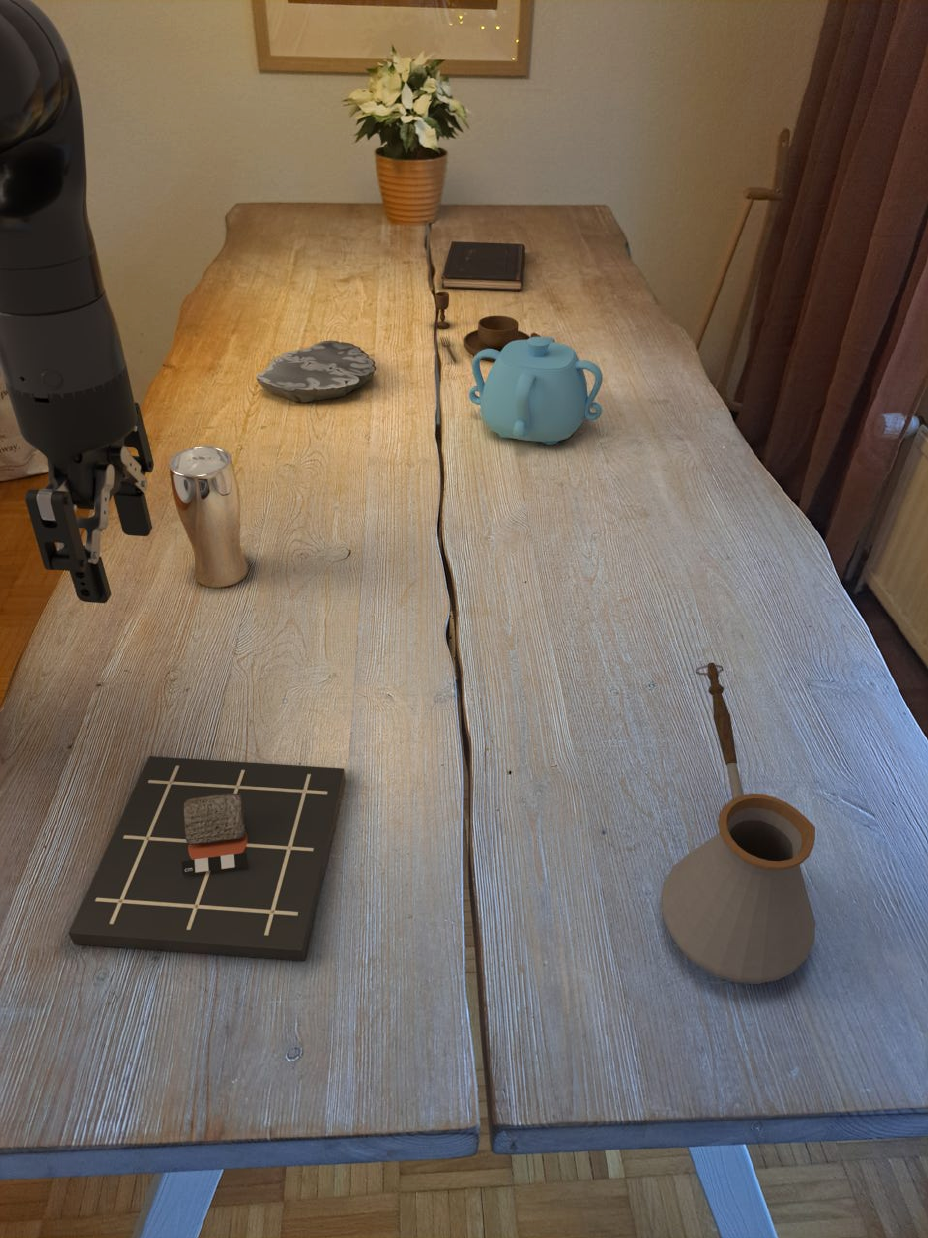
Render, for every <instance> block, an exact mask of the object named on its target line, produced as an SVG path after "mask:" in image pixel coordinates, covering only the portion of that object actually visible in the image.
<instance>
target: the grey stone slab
mask: <svg viewBox="0 0 928 1238" xmlns="http://www.w3.org/2000/svg"><path fill="white" fill-rule="evenodd" d="M375 365H376V361H375V359H373V358H371V357H370V356H369V354H368V353H367V352H365V350H362V349H361V347H360V346H357V345H354V344H352V343H350V342H349V343H348V342H344V341H342V342H340V341H338V340H324V341H319V342H318V343H315V344H313V345H311V346H308V347H307V348H306V347H305V348H301V349H295V350H291V351H288V352H287V351H286V352H284V353H282V354H280V355H278V356H276V357H274V358H272V359H270V363H269V364H268V365H267V367H266V368H265V369H263V370H261V371H260V372H259V373H258V374H256V376H255V378H256V381H257V383H258V384H259V385H260V386H261V387H262V388H263V389H264V390H266V391H267V392H268V393H271V394H274V395H276V396H278V397H285V398H286V399H289V400H291V401H292V402H294V403H311V402H313V401H314V402H315V401H323V400H328V399H329V400H330V399H337V398H341V397H344V396H346V395H347V394H349V393H351V392H352V391H353V390H357V389H359V388H360V387H362V386H363V385H364V384H366V383H367V382H368V381H369V380H371V378H372V377H373V375H374V373H375V372H376V371H377V366H375Z"/></svg>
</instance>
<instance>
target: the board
mask: <svg viewBox="0 0 928 1238" xmlns="http://www.w3.org/2000/svg"><path fill="white" fill-rule="evenodd" d="M345 784H346V770H345V768H343V767H327V766H315V765H314V766H311V765H298V764H297V765H295V764H281V763H279V764H278V763H264V762H251V761H250V762H249V761H233V760H218V759H201V758H186V757H169V756H156V755H155V756H154V755H148V758H147V759H146V762H145V764H144V766H143V769H142V771H141V773H140V775H139V777H138V779H137V781H136V784H135V785H134V788H133V790H132V793H131V795H130V796H129V799H128V801H127V804H126V805H125V808H124V810H123V812H122V814H121V817H120V819H119V821H118V823H117V825H116V827H115V830H114V832H113V834H112V836H111V839H110V841H109V843H108V845H107V847H106V849H105V851H104V854H103V856H102V858H101V860H100V862H99V864H98V867H97V869H96V871H95V874H94V876H93V877H92V881H91V883H90V885H89V887H88V889H87V891H86V893H85V895H84V897H83V900H82V902H81V904H80V907H79V909H78V910H77V912H76V915H75V917H74V919H73V922H72V924H71V926H70V929H69V931H68V932H67V933H68V936H69V938H70V940H71V942H72V944H73V945H86V946H100V947H114V948H126V949H138V950H139V949H141V950H154V951H165V952H181V953H192V954H193V953H194V954H207V955H221V956H234V957H247V958H260V959H261V958H262V959H272V960H273V959H275V960H287V961H299V962H300V961H301V962H304V961H305V960H306V955H307V951H308V946H309V941H310V937H311V934H312V929H313V925H314V920H315V916H316V912H317V906H318V903H319V898H320V895H321V894H320V893H321V889H322V884H323V881H324V876H325V872H326V868H327V863H328V859H329V854H330V850H331V845H332V840H333V836H334V833H335V828H336V824H337V819H338V814H339V810H340V806H341V801H342V796H343V792H344V787H345ZM215 794H218V795H221V794H239V795H241V796H242V798H243V807H244V818H245V819H244V822H245V828H246V836H245V837H244V838H243V839H240V840H234V841H225V842H219V843H212V844H203V845H191V844H188V843H187V841H186V836H185V834H186V833H185V825H184V824H185V822H184V802H185V801H186V800H188V799H191V798H196V797H201V796H208V795H215ZM246 852H247V862H248V865H247V866H240V867H233V868H225V869H218V870H211V871H204V872H196V873H189V874H182V861H187V860H194V859H202V858H209V857H217V856H224V855H231V854H239V853H246Z"/></svg>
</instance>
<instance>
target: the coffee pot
mask: <svg viewBox="0 0 928 1238" xmlns="http://www.w3.org/2000/svg"><path fill="white" fill-rule="evenodd" d="M705 668H706V671H707V673H706V672H700V671H699V670H702V669H705ZM718 668H720V669H719V670H718ZM723 672H724V666H723V665H721V664H715V662H708V663H707V664H704V665H701V666H698V667H697V668H695V674H696V675H699V676H704V677H705V676H706V677H707V678H708V680H709V683H710V686H709V687H708V693H709V694H710V695H711V696H712V709H713V722H714V725H715V729H716V733H717V737H718V741H719V744H720V745H719V746H720V748H721V753H722V755H723V756H722V757H723V760H724V761H723V762H724V764H725V766H726V770H727V775H728V781H729V788H730V793H731V799H730V800H729V801H727V803H725V805H723V807H722V809H721V811H720V812H719V814H718V821H717V823H718V830H719V832H718V833H717V834H715V835H714V836H712V837H711V838H710V839H707V841H705V842H704V843H702V844H701V845H699V846H698V847H697V848H695V849H693V850H692V851H690V853H688V854H686V855H685V856H684V857H683V858H682V859H680V860H679V861H678V862H677V863H676V864H674V865H673V866H672V867H671V869H670V871H669V873H668V874H667V876H666V878H665V879H664V880H663V881H664V882H663V885H662V890H661V896H660V901H661V909H662V910H661V911H662V918H663V920H664V922H665V925H666V927H667V930H668V933H669V934H670V936H671V938H672V940H673V941H674V942H675V944H676V946H677V947H678V948H679V949H680V951H681V952H682V953H683V955H684V956H685V957H686V958H688V959H689V960H690V961H691V962H693V963H694V964H695V965H696V966H697V967H698V968H699V969H702V970H703V971H705V972H707V973H708V974H710V975H712V976H714V977H715V978H718V979H723V980H726V981H728V982H731V983H735V984H745V985H747V984H748V985H760V984H765V983H770V982H775V981H779V980H781V979H783V978H784V977H786V976H788V975H790V974H792V973H794V972H795V971H796V970H798V969H799V968H800V966H801V965H802V964H803V963H804V962H805V961H806V960H807V959H808V958H809V955H810V953H811V951H812V948H813V946H814V943H815V937H816V935H815V934H816V920H815V916H814V912H813V909H812V905H811V901H810V896H809V893H808V891H807V887H806V882H805V879H804V875H803V872H802V868H801V865H802V864H803V863H804V862H806V860H807V859H808V858H810V855H811V853H812V851H813V849H814V844H815V841H816V840H815V839H816V826H815V825H814V824H813V823H812V822H811V821H810V820H809V819H808V818H807V817H806V815H804V814H803V813H802V812H801V811H800V810H798V808H796V807H794V806H793V805H791V804H789V803H788V802H787V801H784V800H782V799H781V798H778V797H776V796H772V795H769V794H764V793H747V794H745V793H744V790H743V785H742V782H741V777H740V773H739V769H738V765H737V764H738V759H737V752H736V746H735V739H734V732H733V725H732V719H731V714H730V712H729V709H728V707H727V704H726V701H725V697H724V696H723V693H724V692H725V687H724V686H723V685H722V684H721V683H720V679H719V677H720V674H721V673H723Z"/></svg>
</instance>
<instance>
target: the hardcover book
mask: <svg viewBox="0 0 928 1238" xmlns="http://www.w3.org/2000/svg"><path fill="white" fill-rule="evenodd" d="M525 252H526V246H525V244H524V243H513V242H512V243H511V242H489V241H488V242H485V241H484V242H483V241H460V240H459V241H458V240H452V241H451V242H450V247H449V249H448V253H447V257H446V259H445V260H446V261H445V264H444V268H443V271H442V275H441V279H442V285H441V289H444V290H445V289H447V290H448V289H449V290H472V291H496V292H498V291H499V292H520V291H522V289H523V279H524V266H525Z"/></svg>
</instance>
